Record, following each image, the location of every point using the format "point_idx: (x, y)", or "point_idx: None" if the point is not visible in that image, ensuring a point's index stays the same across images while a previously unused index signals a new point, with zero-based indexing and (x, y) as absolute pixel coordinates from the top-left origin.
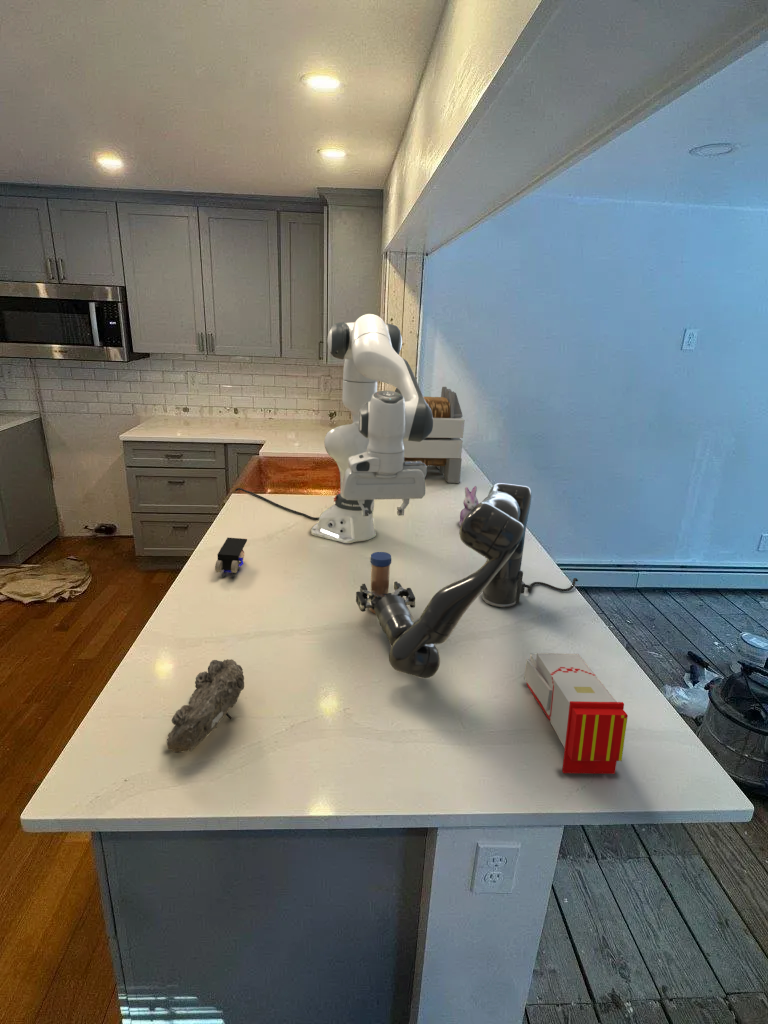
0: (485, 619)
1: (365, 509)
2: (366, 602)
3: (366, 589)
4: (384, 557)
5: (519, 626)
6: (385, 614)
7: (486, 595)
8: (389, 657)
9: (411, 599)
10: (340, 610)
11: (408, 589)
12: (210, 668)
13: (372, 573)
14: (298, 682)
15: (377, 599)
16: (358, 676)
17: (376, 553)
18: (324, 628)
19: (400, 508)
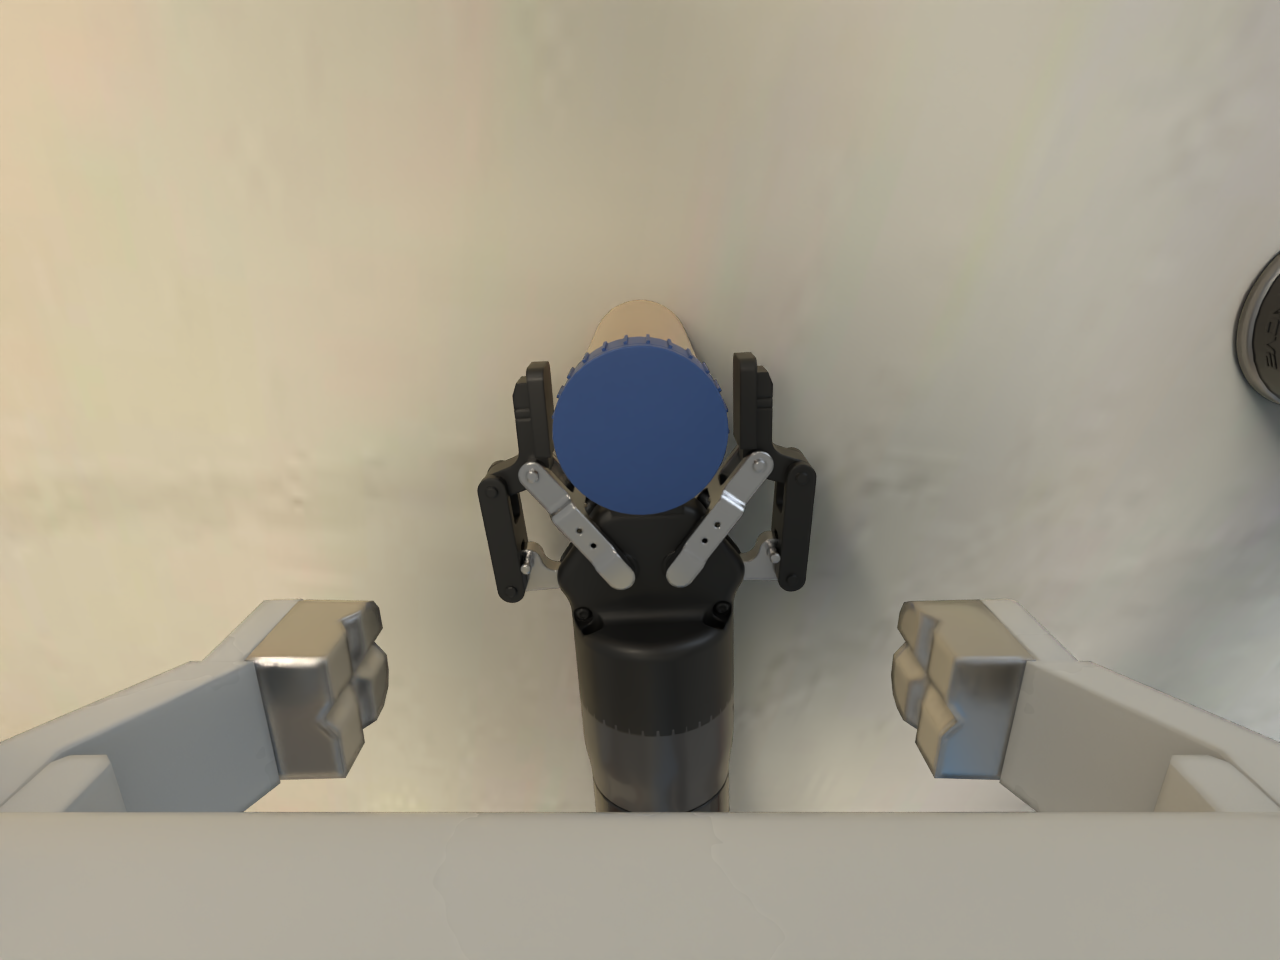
0: (1131, 495)
1: (280, 751)
2: (533, 564)
3: (544, 455)
4: (663, 468)
5: (1245, 567)
6: (598, 760)
7: (1273, 347)
8: None
9: (780, 583)
10: (441, 332)
11: (797, 484)
12: None
13: None
14: (295, 785)
15: (592, 571)
16: (494, 780)
17: (608, 382)
18: (365, 487)
19: (990, 734)
